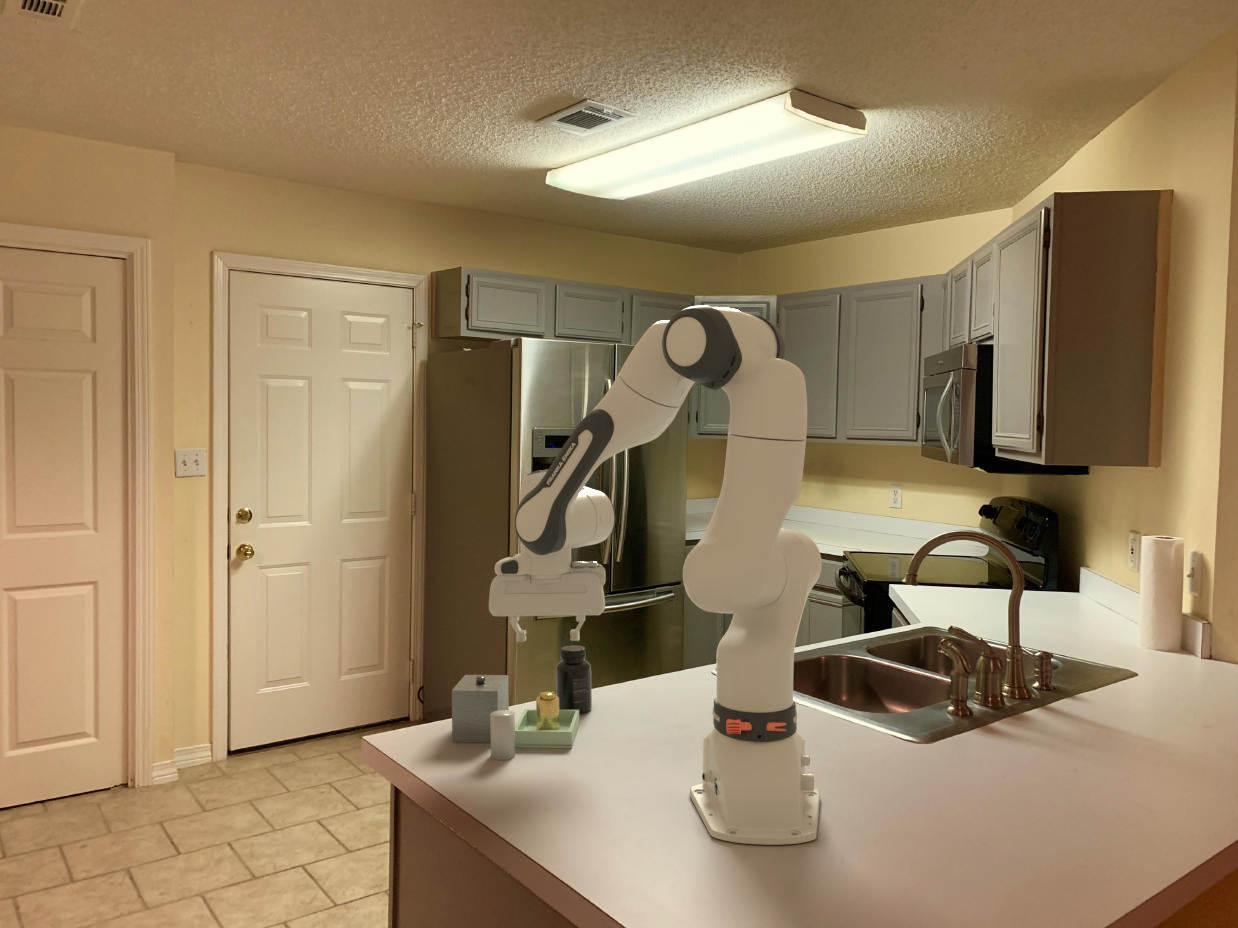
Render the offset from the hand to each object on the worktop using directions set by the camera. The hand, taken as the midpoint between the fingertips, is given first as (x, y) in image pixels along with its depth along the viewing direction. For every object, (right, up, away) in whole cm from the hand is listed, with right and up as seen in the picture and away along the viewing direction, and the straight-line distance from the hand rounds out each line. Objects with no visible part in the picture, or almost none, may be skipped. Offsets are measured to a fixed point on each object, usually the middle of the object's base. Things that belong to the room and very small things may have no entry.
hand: (548, 640), depth 158 cm
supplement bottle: (+4, -17, +16) cm, 23 cm away
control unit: (-12, -17, +3) cm, 21 cm away
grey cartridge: (-7, -17, -9) cm, 21 cm away
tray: (0, -17, +1) cm, 17 cm away
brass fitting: (0, -16, +1) cm, 16 cm away
